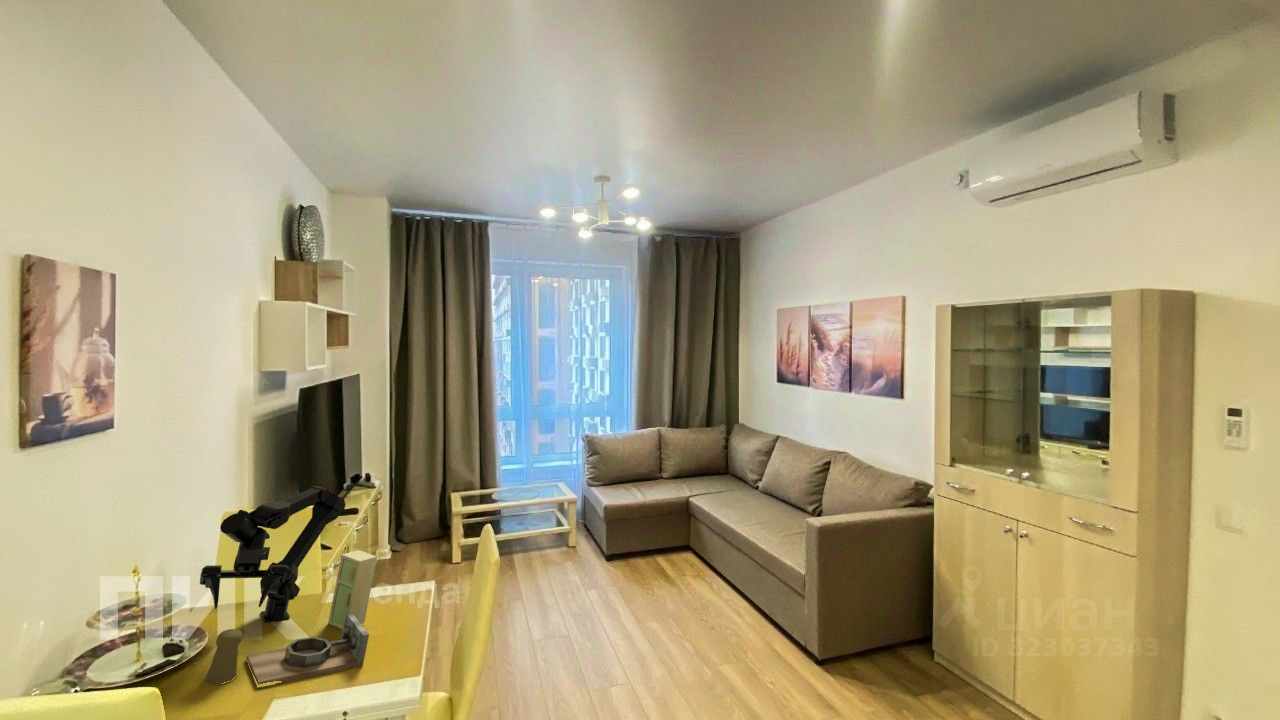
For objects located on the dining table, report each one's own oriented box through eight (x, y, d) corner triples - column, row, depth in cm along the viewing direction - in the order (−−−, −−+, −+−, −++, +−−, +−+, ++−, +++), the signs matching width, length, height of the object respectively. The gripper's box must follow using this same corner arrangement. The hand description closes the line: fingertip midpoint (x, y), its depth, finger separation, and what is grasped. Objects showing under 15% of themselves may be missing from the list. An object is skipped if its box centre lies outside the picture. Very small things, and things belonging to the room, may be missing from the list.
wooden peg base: (245, 660, 143) (253, 627, 143) (345, 642, 159) (352, 612, 160) (257, 688, 133) (265, 652, 133) (362, 666, 149) (369, 634, 150)
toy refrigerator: (324, 624, 167) (339, 554, 169) (345, 616, 174) (359, 549, 175) (343, 633, 164) (358, 561, 166) (364, 625, 171) (378, 556, 172)
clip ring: (281, 652, 146) (285, 633, 146) (346, 641, 157) (349, 623, 158) (290, 670, 139) (294, 650, 140) (357, 657, 150) (361, 638, 151)
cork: (219, 687, 131) (229, 640, 131) (198, 680, 132) (209, 633, 132) (242, 675, 136) (252, 630, 137) (222, 668, 138) (232, 623, 138)
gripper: (209, 534, 142) (193, 595, 132) (294, 535, 152) (284, 592, 142) (207, 554, 149) (191, 614, 139) (289, 554, 158) (279, 610, 148)
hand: (237, 607), depth 142 cm, fingers open, 9 cm apart
